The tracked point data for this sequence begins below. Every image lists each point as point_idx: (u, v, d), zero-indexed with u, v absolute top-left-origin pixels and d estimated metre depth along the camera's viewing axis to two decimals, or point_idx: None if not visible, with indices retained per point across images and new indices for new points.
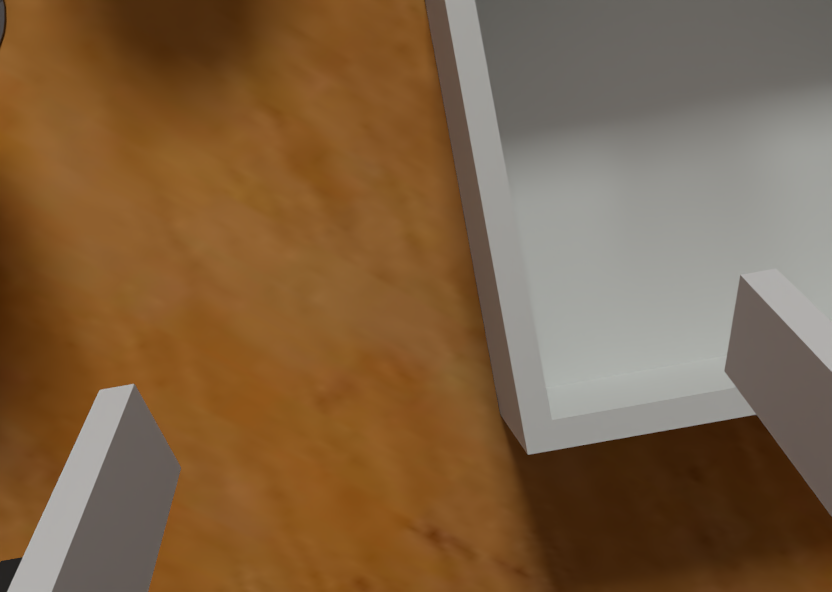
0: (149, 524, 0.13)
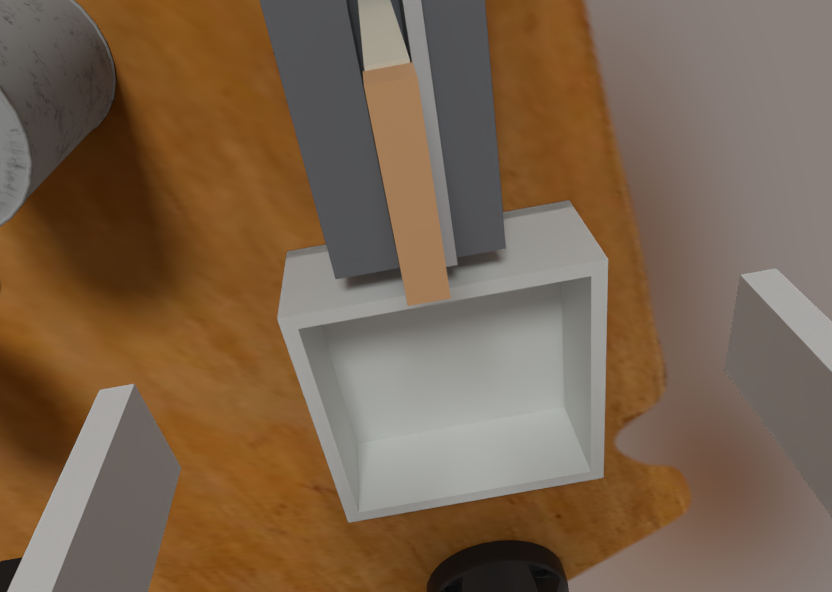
0: (149, 523, 0.13)
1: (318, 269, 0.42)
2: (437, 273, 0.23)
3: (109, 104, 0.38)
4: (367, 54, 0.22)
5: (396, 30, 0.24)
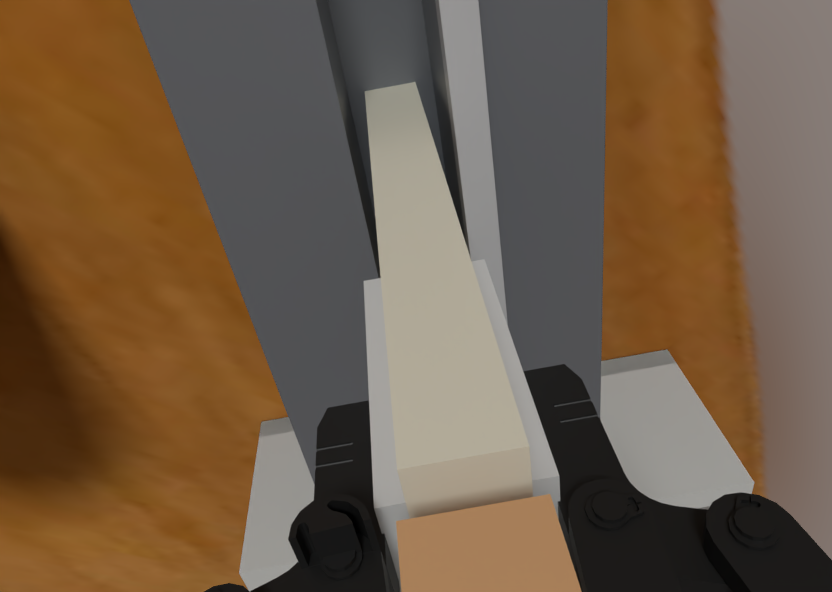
0: None
1: (305, 464, 0.29)
2: None
3: None
4: (401, 377, 0.08)
5: (460, 252, 0.11)
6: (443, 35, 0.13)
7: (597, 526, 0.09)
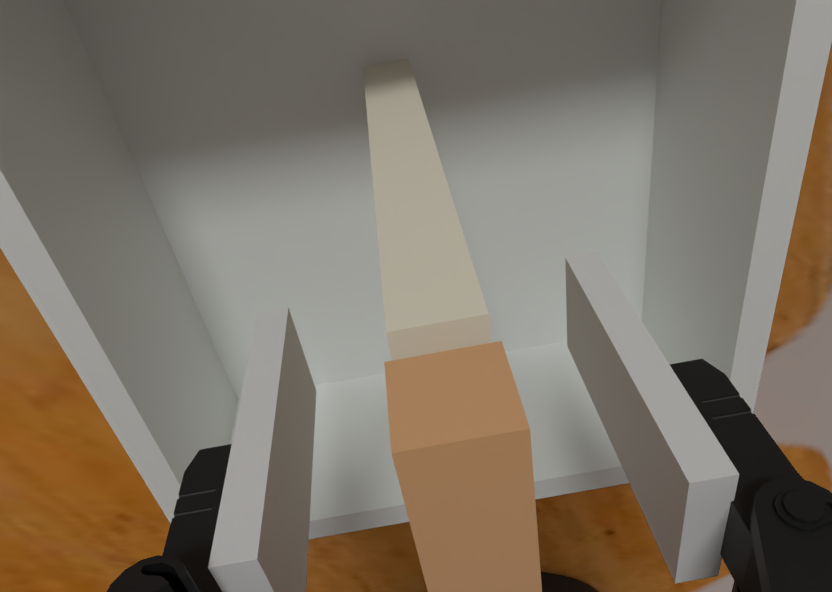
0: (306, 431, 0.14)
1: None
2: None
3: None
4: (390, 274, 0.10)
5: (441, 188, 0.13)
6: None
7: (787, 523, 0.09)
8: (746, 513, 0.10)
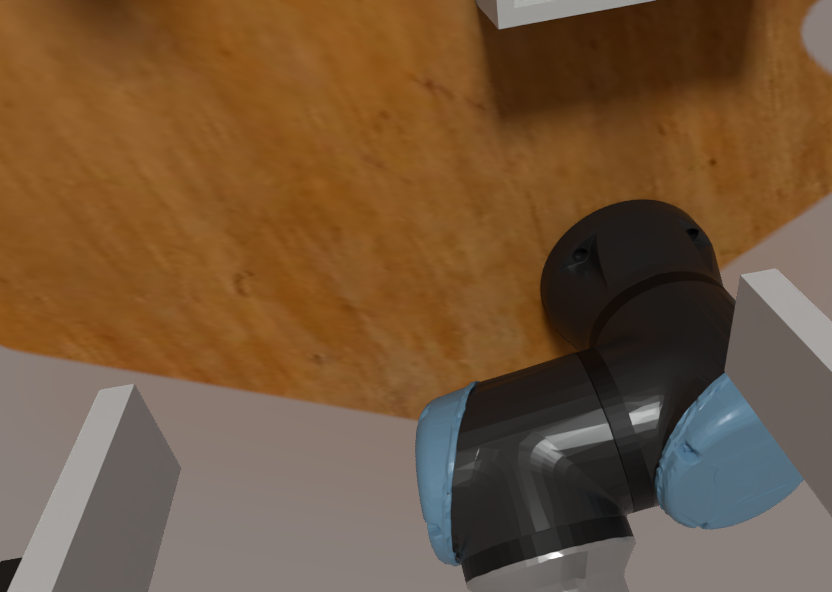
0: (149, 523, 0.13)
1: None
2: None
3: None
4: None
5: None
6: None
7: None
8: None
